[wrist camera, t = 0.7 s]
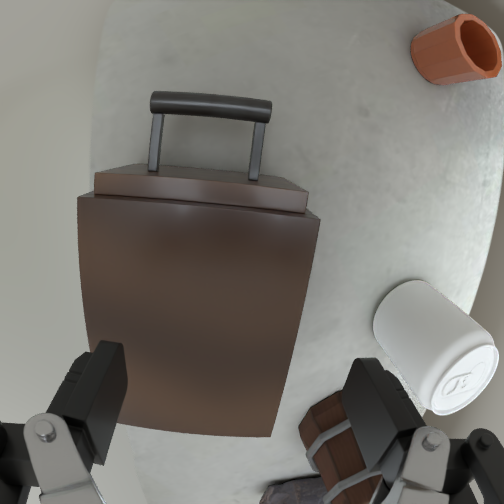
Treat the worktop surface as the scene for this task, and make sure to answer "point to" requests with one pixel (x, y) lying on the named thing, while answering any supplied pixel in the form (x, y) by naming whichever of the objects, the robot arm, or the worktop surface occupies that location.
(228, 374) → the cabinet
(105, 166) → the worktop surface
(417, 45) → the cup
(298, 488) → the perforated stone tool
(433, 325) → the beverage can
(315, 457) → the mug
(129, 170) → the drawer
